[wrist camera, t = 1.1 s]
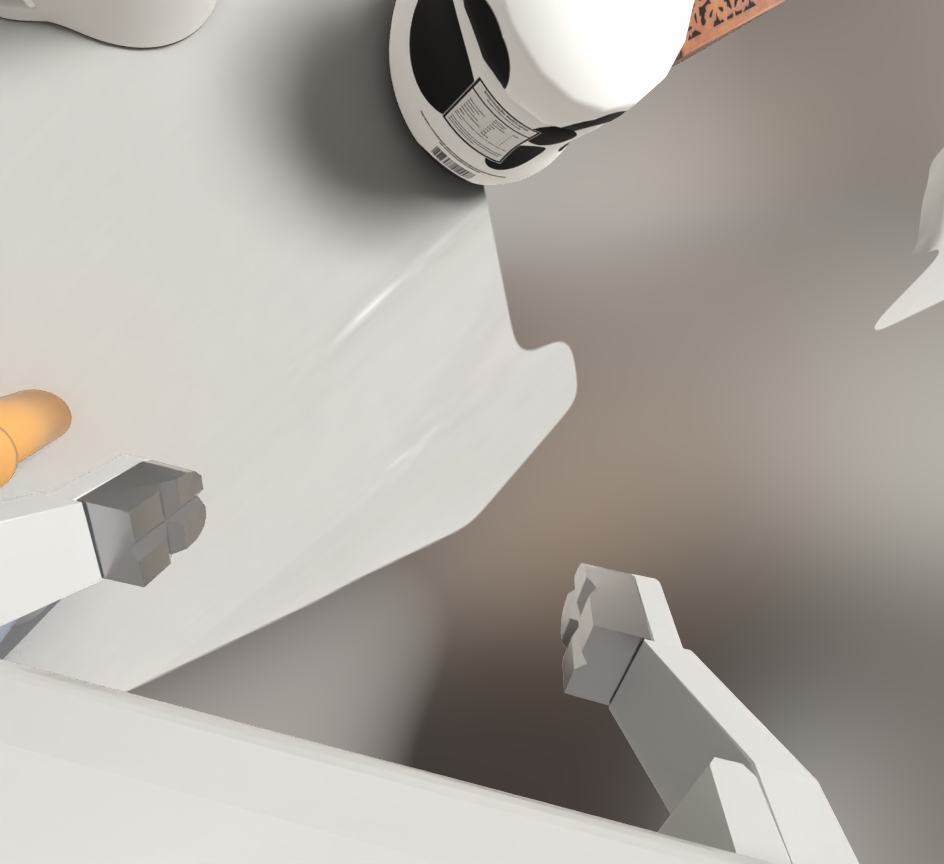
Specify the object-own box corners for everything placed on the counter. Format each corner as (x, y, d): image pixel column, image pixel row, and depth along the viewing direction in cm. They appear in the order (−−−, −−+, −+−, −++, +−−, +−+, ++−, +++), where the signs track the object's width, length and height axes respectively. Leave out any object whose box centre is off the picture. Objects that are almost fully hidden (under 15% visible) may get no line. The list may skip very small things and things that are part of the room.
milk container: (535, -23, 41) (709, -231, 25) (557, 184, 47) (709, 120, 31) (353, -35, 35) (434, -320, 19) (405, 205, 41) (499, 137, 25)
